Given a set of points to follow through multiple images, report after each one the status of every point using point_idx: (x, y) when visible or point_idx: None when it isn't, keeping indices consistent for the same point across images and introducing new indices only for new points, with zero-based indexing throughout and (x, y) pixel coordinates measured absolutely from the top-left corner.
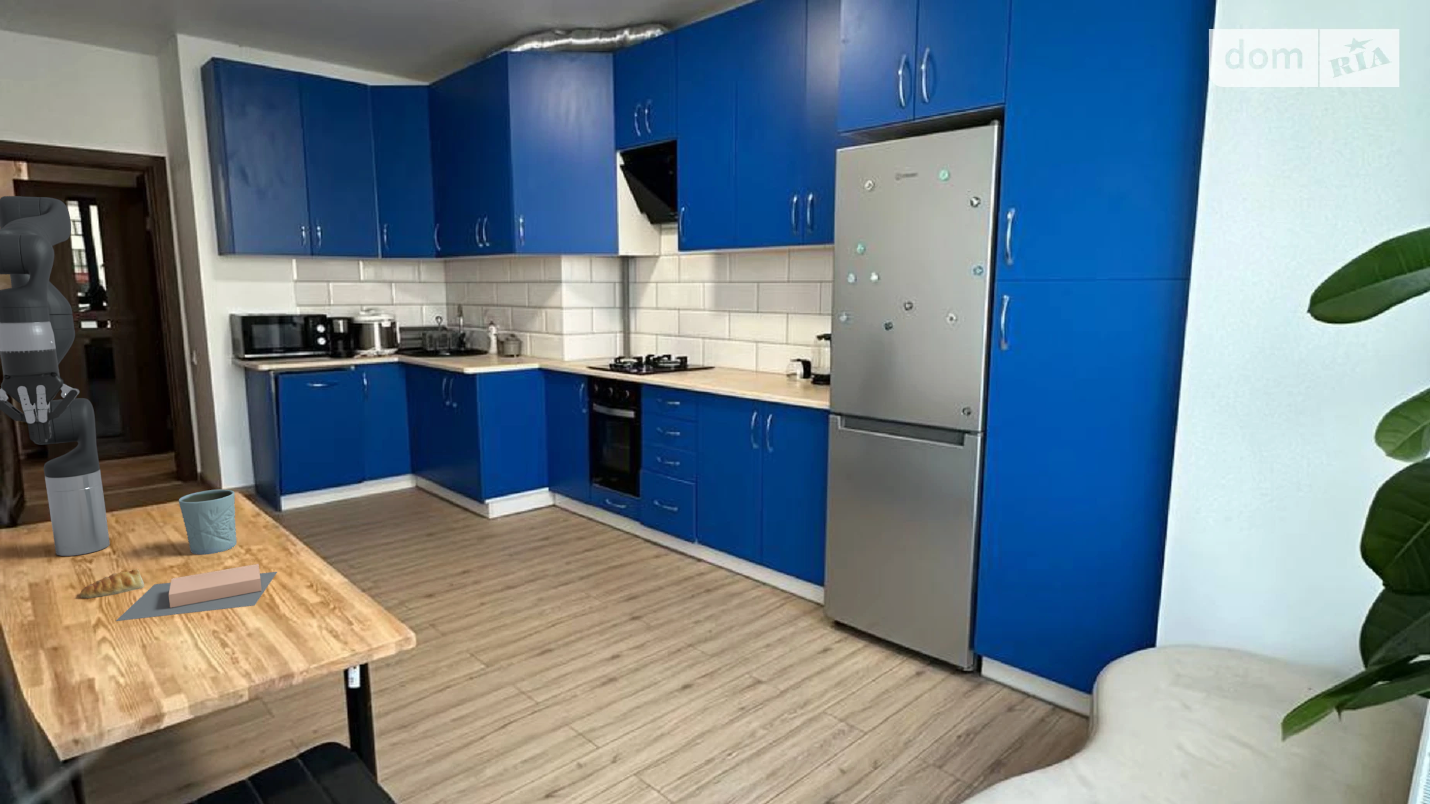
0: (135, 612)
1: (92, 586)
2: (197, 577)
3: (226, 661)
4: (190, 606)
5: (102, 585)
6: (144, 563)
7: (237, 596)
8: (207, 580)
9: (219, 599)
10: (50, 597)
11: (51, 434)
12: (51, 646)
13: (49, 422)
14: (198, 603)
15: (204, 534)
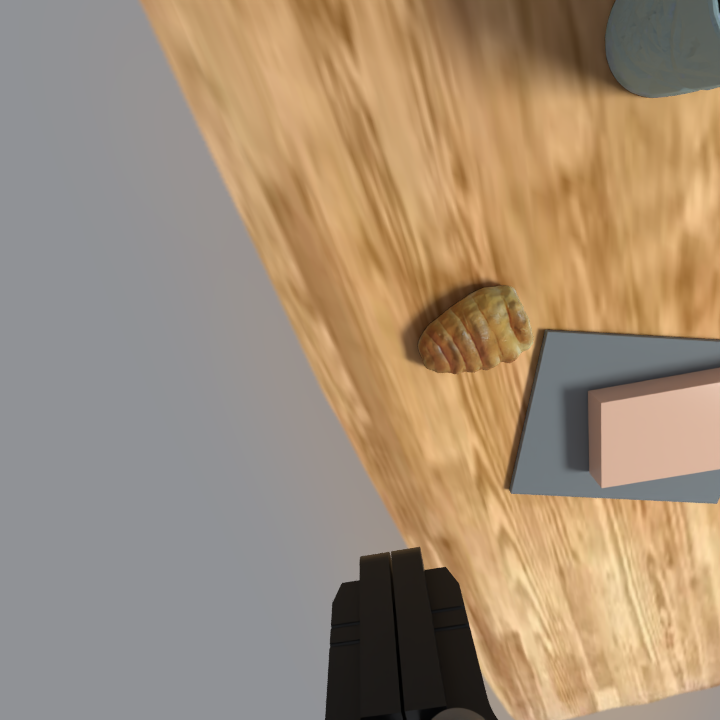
0: (535, 469)
1: (447, 364)
2: (649, 415)
3: (659, 640)
4: None
5: (466, 368)
6: (495, 121)
7: None
8: (667, 439)
9: None
10: (353, 313)
11: (460, 591)
12: (438, 535)
13: (491, 718)
14: None
15: (688, 90)
